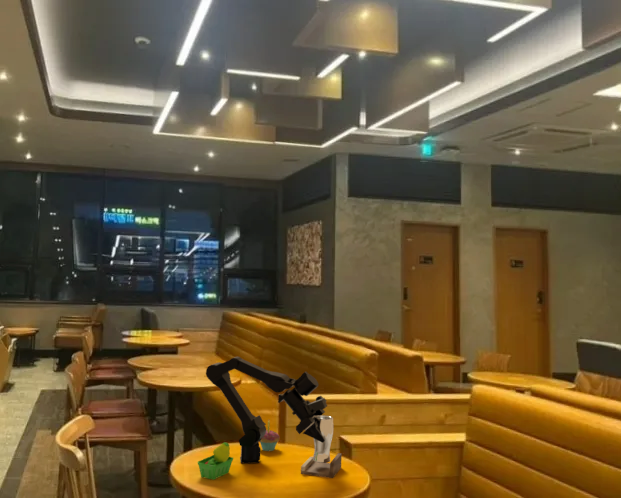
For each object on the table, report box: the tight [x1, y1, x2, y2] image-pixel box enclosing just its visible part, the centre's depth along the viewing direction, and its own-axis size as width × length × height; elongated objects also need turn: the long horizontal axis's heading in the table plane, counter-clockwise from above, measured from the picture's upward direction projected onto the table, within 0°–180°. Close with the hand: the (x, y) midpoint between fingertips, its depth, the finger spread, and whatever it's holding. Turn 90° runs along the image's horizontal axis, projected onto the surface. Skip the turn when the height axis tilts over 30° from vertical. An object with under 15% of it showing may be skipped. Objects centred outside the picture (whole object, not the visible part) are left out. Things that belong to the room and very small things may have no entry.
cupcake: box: [259, 420, 280, 452], centre depth 244 cm, size 9×8×12 cm
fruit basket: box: [197, 441, 234, 480], centre depth 212 cm, size 11×9×11 cm
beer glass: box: [312, 414, 334, 463], centre depth 221 cm, size 7×7×15 cm
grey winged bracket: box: [300, 452, 343, 479], centre depth 221 cm, size 11×12×5 cm
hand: (326, 439), depth 221 cm, fingers closed on beer glass, 6 cm apart
